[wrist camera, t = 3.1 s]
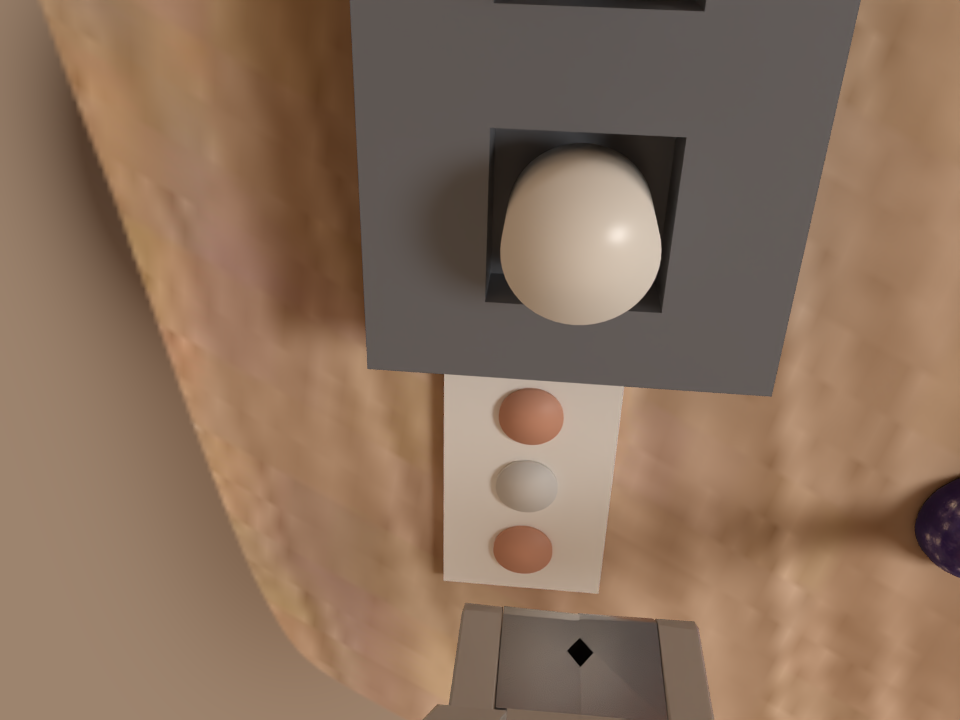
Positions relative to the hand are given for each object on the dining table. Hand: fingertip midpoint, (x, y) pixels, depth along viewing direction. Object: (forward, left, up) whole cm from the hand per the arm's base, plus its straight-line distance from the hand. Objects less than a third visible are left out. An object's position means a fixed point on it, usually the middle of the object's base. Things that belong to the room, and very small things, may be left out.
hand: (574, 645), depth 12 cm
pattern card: (+11, -1, -17) cm, 20 cm away
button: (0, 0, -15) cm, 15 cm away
